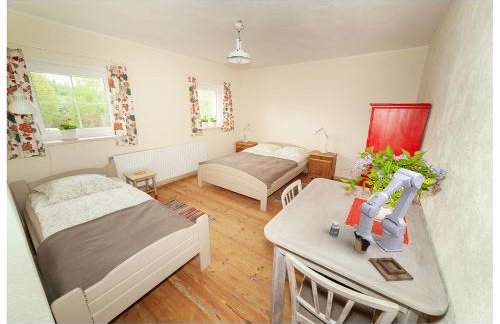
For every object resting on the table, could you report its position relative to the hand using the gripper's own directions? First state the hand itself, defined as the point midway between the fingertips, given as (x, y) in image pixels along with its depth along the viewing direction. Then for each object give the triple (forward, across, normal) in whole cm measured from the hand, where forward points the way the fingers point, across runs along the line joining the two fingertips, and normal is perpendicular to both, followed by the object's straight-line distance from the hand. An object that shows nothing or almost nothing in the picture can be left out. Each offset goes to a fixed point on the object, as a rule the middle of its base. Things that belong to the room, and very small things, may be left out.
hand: (360, 247), depth 101 cm
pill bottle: (+2, -13, -8) cm, 15 cm away
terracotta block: (+2, 0, 0) cm, 2 cm away
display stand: (+2, +13, +6) cm, 14 cm away
